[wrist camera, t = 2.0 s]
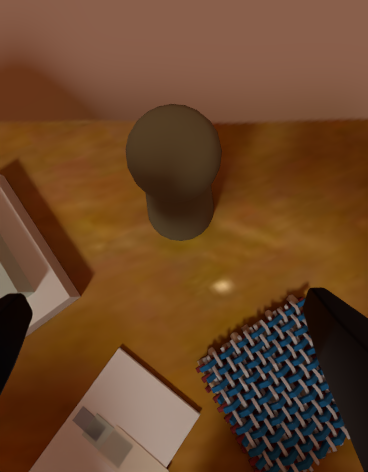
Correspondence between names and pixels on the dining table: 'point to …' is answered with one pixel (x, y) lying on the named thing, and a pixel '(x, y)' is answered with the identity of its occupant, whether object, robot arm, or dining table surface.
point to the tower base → (30, 262)
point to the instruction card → (121, 424)
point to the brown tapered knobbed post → (175, 168)
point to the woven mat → (276, 393)
